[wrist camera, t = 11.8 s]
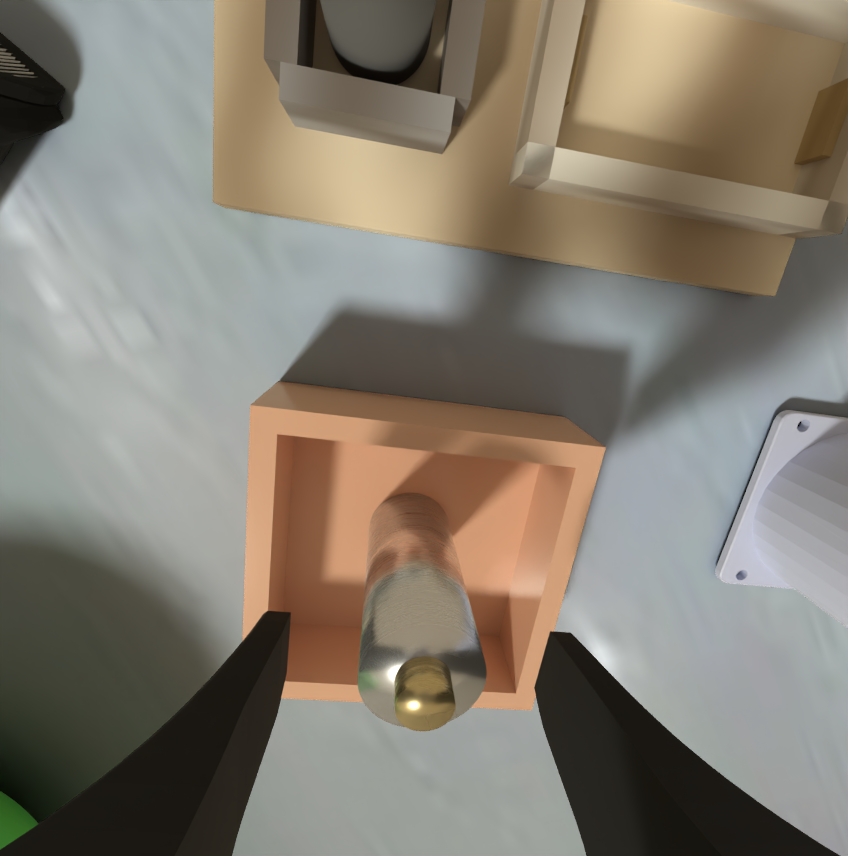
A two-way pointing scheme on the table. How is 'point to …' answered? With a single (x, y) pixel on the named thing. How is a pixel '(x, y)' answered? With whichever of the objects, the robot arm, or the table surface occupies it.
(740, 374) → the table surface
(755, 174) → the wooden board with compartments
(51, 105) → the electric trimmer
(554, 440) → the dish
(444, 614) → the cell
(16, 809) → the toy bird
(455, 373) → the table surface
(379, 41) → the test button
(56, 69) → the table surface
